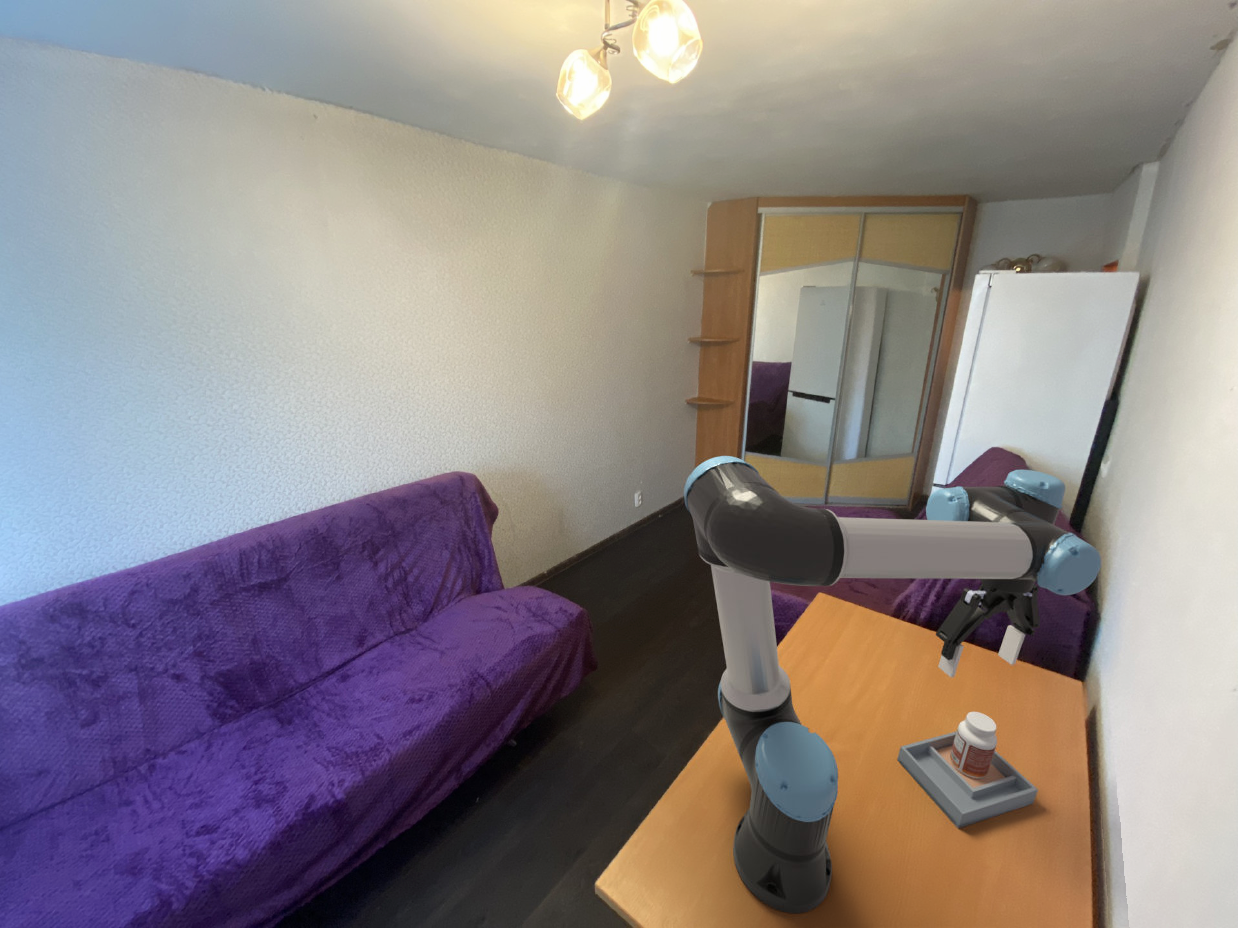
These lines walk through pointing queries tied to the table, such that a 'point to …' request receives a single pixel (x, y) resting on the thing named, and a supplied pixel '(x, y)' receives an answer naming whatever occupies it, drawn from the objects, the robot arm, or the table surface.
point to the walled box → (965, 782)
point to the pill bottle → (974, 745)
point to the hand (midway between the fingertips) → (976, 665)
